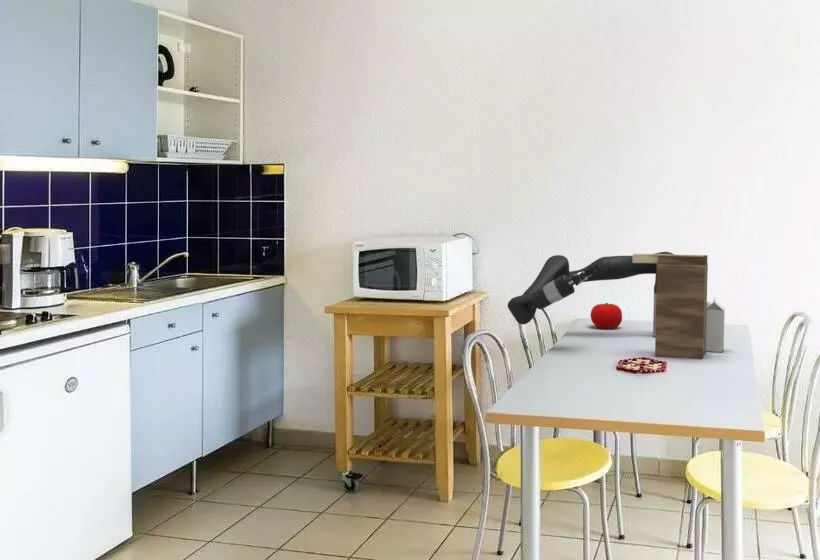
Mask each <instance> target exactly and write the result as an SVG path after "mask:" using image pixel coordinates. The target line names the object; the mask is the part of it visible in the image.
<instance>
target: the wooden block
mask: <svg viewBox="0 0 820 560" xmlns="http://www.w3.org/2000/svg"><path fill="white" fill-rule="evenodd" d="M704 255H705V254H674V255H671V254H655V253H633V254H632V256H633V262H632V263H658V256H704Z"/></svg>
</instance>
